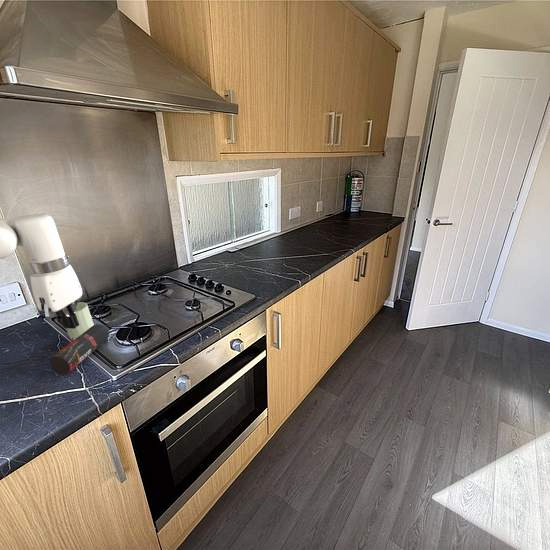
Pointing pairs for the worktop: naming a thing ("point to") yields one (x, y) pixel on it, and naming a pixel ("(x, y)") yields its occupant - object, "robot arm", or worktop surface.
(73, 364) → the deodorant
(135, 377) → the worktop surface
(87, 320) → the cup
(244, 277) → the worktop surface
